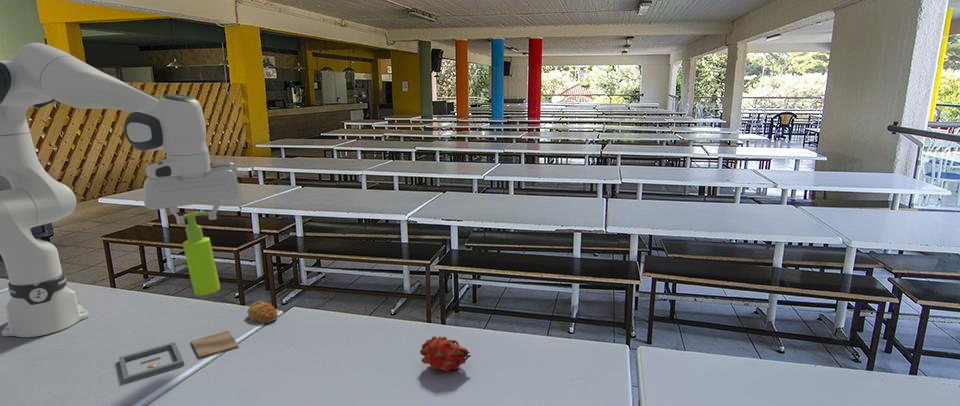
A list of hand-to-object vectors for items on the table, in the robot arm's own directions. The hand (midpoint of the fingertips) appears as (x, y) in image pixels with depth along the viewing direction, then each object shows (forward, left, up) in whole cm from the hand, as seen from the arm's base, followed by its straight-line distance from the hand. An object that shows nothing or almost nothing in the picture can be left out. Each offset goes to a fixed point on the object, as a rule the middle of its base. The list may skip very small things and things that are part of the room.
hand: (197, 221), depth 128 cm
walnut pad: (0, 0, -33) cm, 33 cm away
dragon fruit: (+46, +40, -33) cm, 69 cm away
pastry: (-9, +15, -33) cm, 38 cm away
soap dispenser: (+1, +1, -18) cm, 18 cm away
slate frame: (0, -14, -33) cm, 36 cm away
